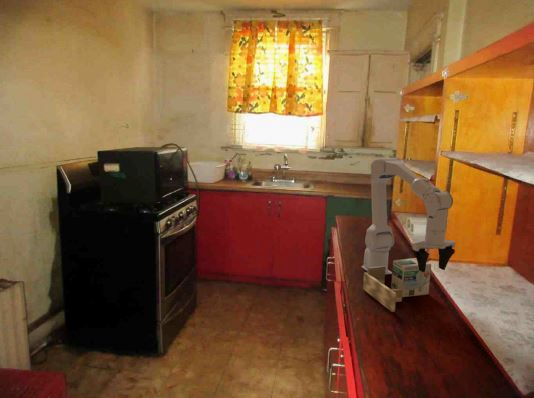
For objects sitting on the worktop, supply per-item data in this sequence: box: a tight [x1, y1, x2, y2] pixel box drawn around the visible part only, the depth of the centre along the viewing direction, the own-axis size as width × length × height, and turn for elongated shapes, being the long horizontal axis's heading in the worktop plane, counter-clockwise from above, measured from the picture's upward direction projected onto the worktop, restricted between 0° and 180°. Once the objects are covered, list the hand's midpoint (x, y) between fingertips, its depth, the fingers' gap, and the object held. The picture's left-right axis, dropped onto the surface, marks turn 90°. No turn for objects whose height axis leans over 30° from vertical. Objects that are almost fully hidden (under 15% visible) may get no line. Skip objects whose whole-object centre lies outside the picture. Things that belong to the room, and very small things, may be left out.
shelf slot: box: [362, 266, 403, 313], centre depth 122 cm, size 17×7×8 cm, turn 16°
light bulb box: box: [390, 257, 432, 298], centre depth 127 cm, size 11×7×11 cm, turn 105°
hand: (431, 269), depth 122 cm, fingers open, 7 cm apart
